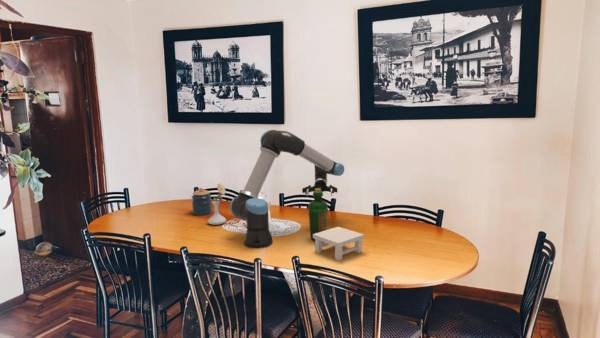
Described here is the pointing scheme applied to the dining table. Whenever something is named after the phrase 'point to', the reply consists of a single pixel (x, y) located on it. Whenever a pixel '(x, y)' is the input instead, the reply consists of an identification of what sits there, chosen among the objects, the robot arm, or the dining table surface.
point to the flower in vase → (217, 217)
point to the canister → (201, 202)
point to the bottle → (317, 213)
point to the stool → (338, 240)
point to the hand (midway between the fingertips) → (319, 193)
